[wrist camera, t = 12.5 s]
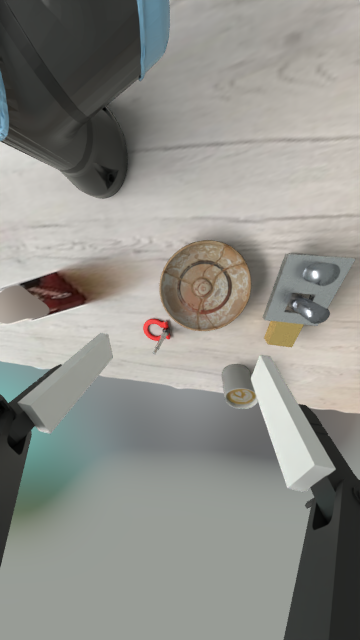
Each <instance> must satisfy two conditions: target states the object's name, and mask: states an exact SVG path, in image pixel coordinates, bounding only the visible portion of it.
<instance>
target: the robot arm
mask: <svg viewBox="0 0 360 640" xmlns="http://www.w3.org/2000/svg"><path fill="white" fill-rule="evenodd" d="M169 28H170V5H169V0H0V141H1V142H3V143H5V144H7V145H9V146H11V147H13V148H15V149H17V150H19V151H21V152H23V153H25V154H27V155H29V156H31V157H33V158H36V159H38V160H40V161H42V162H44V163H46V164H48V165H50V166H52V167H54V168H56V169H58V170H60V171H61V172H62V173H63V174H64V175H65V176H66V177H67V178H68V179H69V180H70V181H71V182H72V183H73V184H74V185H75V186H76V187H77V188H78V189H79V190H81V191H82V192H84V193H86V194H88V195H91V196H93V197H96V198H108V197H110V196H112V195H114V194H115V193H116V192H117V191H118V190H119V189H120V187H121V186H122V184H123V181H124V179H125V175H126V171H127V149H126V143H125V139H124V136H123V133H122V130H121V128H120V126H119V124H118V122H117V120H116V119H115V117H114V116H113V114H112V113H111V112H110V110H109V109H108V107H107V105H108V104H109V103H110V102H111V101H112V100H114V99H115V98H116V97H117V96H118V95H120V94H121V93H122V92H123V91H124V90H126V89H127V88H128V87H129V86H130V85H131V84H133V83H134V82H135V81H136V80H137V79H139V81H141V80H142V79H143V78H144V75H145V73H146V72H147V71H148V70H149V69H150V68H151V67H152V66H153V65H154V64H155V63H156V62H157V61H158V60H159V59H160V58H161V57H162V56H163V54H164V52H165V50H166V47H167V43H168V38H169ZM112 358H113V355H112V350H111V345H110V341H109V336H108V334H103V333H100V334H99V335H97V336H96V337H95V338H94V339H93V340H91V341H90V342H89V343H88V344H87V345H86V346H84V347H83V348H82V349H81V350H80V351H78V352H77V353H76V354H75V355H74V356H72V357H71V358H70V359H69V360H68V361H66V362H65V363H64V364H63V365H61V364H60V365H58V366H56V367H54V368H52V369H51V370H50V371H48V372H47V373H46V374H44V376H43V377H41V378H39V379H38V380H37V382H34V383H33V384H32V385H31V386H29V387H28V388H27V389H26V390H25V391H23V392H22V393H21V394H20V395H18V396H17V397H16V398H15V399H13V400H12V401H11V402H9V403H7V401H6V400H5V399H4V397H3V396H2V395H0V566H1V562H2V558H3V553H4V549H5V545H6V541H7V536H8V532H9V528H10V524H11V520H12V515H13V511H14V507H15V503H16V498H17V495H18V490H19V486H20V482H21V477H22V473H23V469H24V465H25V460H26V456H27V452H28V448H29V444H30V440H31V435H32V434H31V429H32V428H33V427H34V426H36V427H37V429H38V430H39V431H41V432H45V433H52V431H53V430H54V429H55V428H56V426H57V425H58V424H59V423H60V422H61V420H62V419H63V418H64V416H65V415H66V414H67V413H68V412H69V411H70V409H71V408H72V407H73V406H74V404H75V403H76V402H77V401H78V400H79V398H80V397H81V396H82V395H83V393H84V392H85V391H86V390H87V389H88V387H89V386H90V385H91V384H92V382H93V381H94V380H95V379H96V377H97V376H98V375H99V374H100V373H101V372H102V370H103V369H104V368H105V367H106V365H107V364H108V363H109V362H110V361H111V359H112ZM251 381H252V384H253V387H254V390H255V393H256V396H257V399H258V402H259V405H260V408H261V411H262V413H263V417H264V420H265V423H266V426H267V429H268V432H269V434H270V438H271V440H272V443H273V446H274V449H275V452H276V455H277V458H278V461H279V464H280V467H281V470H282V473H283V476H284V478H285V482H286V484H287V487H288V488H289V489H293V490H297V491H302V492H306V491H307V490H308V489H310V488H311V490H312V492H313V495H314V498H313V499H311V500H310V501H308V502H307V503H306V505H305V506H306V508H309V507H311V510H310V515H309V520H308V525H307V529H306V534H305V539H304V544H303V549H302V554H301V558H300V563H299V568H298V573H297V578H296V583H295V588H294V592H293V597H292V602H291V607H290V612H289V617H288V622H287V626H286V631H285V636H284V640H360V480H358V479H357V477H356V476H355V475H354V474H353V472H352V470H351V469H350V467H349V466H348V464H347V463H346V461H345V460H344V458H343V456H342V455H341V453H340V452H339V450H338V449H337V447H336V446H335V444H334V442H333V441H332V439H331V438H330V437H329V436H328V433H327V432H326V430H325V429H324V427H322V424H321V423H320V421H319V419H318V418H317V416H316V415H315V414H314V413H313V412H312V411H311V410H310V409H309V408H308V407H307V406H306V405H301V404H298V403H297V401H296V400H295V398H294V396H293V395H292V393H291V391H290V389H289V388H288V386H287V384H286V383H285V381H284V379H283V377H282V376H281V374H280V372H279V371H278V369H277V367H276V365H275V364H274V362H273V360H272V359H271V357H270V356H264V355H260V357H259V359H258V362H257V364H256V367H255V369H254V372H253V374H252V376H251Z"/></svg>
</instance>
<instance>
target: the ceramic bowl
mask: <svg viewBox="0 0 360 640" xmlns="http://www.w3.org/2000/svg"><path fill="white" fill-rule="evenodd" d="M250 292H251V276H250V272H249V268H248V266H247V263H246V262H245V260H244V258H243V257H242V256H241V254H240V253H239V252H238V251H236V250H235V249H234V248H232V247H231V246H229V245H227V244H225V243H222V242H218V241H212V240H203V241H198V242H194V243H191V244H189V245H186V246H185V247H183V248H181V249H180V250H178V251H177V252H176V253H175V254H174V255H173V256H172V257H171V258H170V259H169V261H168V262H167V264H166V265H165V267H164V269H163V272H162V275H161V279H160V298H161V302H162V304H163V306H164V308H165V310H166V312H167V313H168V314H169V316H170V317H171V318H172V319H173V320H174V321H175V322H177V323H178V324H180V325H181V326H183V327H185V328H188V329H191V330H195V331H210V330H215V329H219V328H222V327H224V326H226V325H228V324H229V323H231V322H232V321H233V320H234V319H236V318H237V317H238V316H239V315H240V313H241V312H242V311H243V309H244V308H245V306H246V304H247V302H248V300H249V297H250Z"/></svg>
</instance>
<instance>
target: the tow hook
mask: <svg viewBox="0 0 360 640" xmlns="http://www.w3.org/2000/svg"><path fill="white" fill-rule="evenodd" d="M150 324H157V325H159V326H160V327H161V328H164V329H163V333H162V335H160V336H153V335H152V334H151V333H150V332H149V330H148V326H149V325H150ZM143 330H144V333H145V334H146V336H147V337H148V338H150V339H152V340H155V341H158V343H157V345H156V347H155V350H154V352H153V354H156V352H157V350H159V348H160V346H161V344H162V342H163V340H164V339H165V338H167V339H170V331H169V327H168V322H167V321H163V322H161V321H160V320H157V319H150V320H148V321H146V322H145V324H144V327H143Z"/></svg>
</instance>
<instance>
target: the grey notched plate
mask: <svg viewBox="0 0 360 640" xmlns="http://www.w3.org/2000/svg"><path fill="white" fill-rule="evenodd" d="M355 259H356V258H345V257H329V256H318V255H304V254H285V256H284V259H283V262H282V265H281V267H280V270H279V273H278V276H277V279H276V281H275V284H274V287H273V290H272V293H271V295H270V298H269V301H268V304H267V307H266V309H265V312H264V315H263V318H264V320H269V321H271V322H270V324H269V327H268V329H267V332H266V334H265V337H264V339H265V340H266V342H267V343H268V344H270V345H278V346H286V347H292V346H293V344H294V342H295V340H296V338H297V337H298V335H299V333H300V331H301V329H302V327H303V325H304V324H305V325H314V326H318V324H313V323H311V322H309V321H308V320H307V319H305V318H304V317H303V316H301V315H300V314H298V313H297V312H296V311H289V310H285V309H286V307H287V304H288V302H289V300H290V297H291V295H292V293H302V294H311V295H310V297H309V300H311V301H313V302H315V303H317V304H319V305H321V306H323V307H325V308H328V306H329V305H330V303H331V301H332V299H333V298H334V296H335V294H336V292H337V291H338V289H339V287H340V285H341V284H342V282H343V280H344V278H345V277H346V275H347V273H348V271H349V270H350V268H351V266H352V264H353V263H354V261H355Z"/></svg>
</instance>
